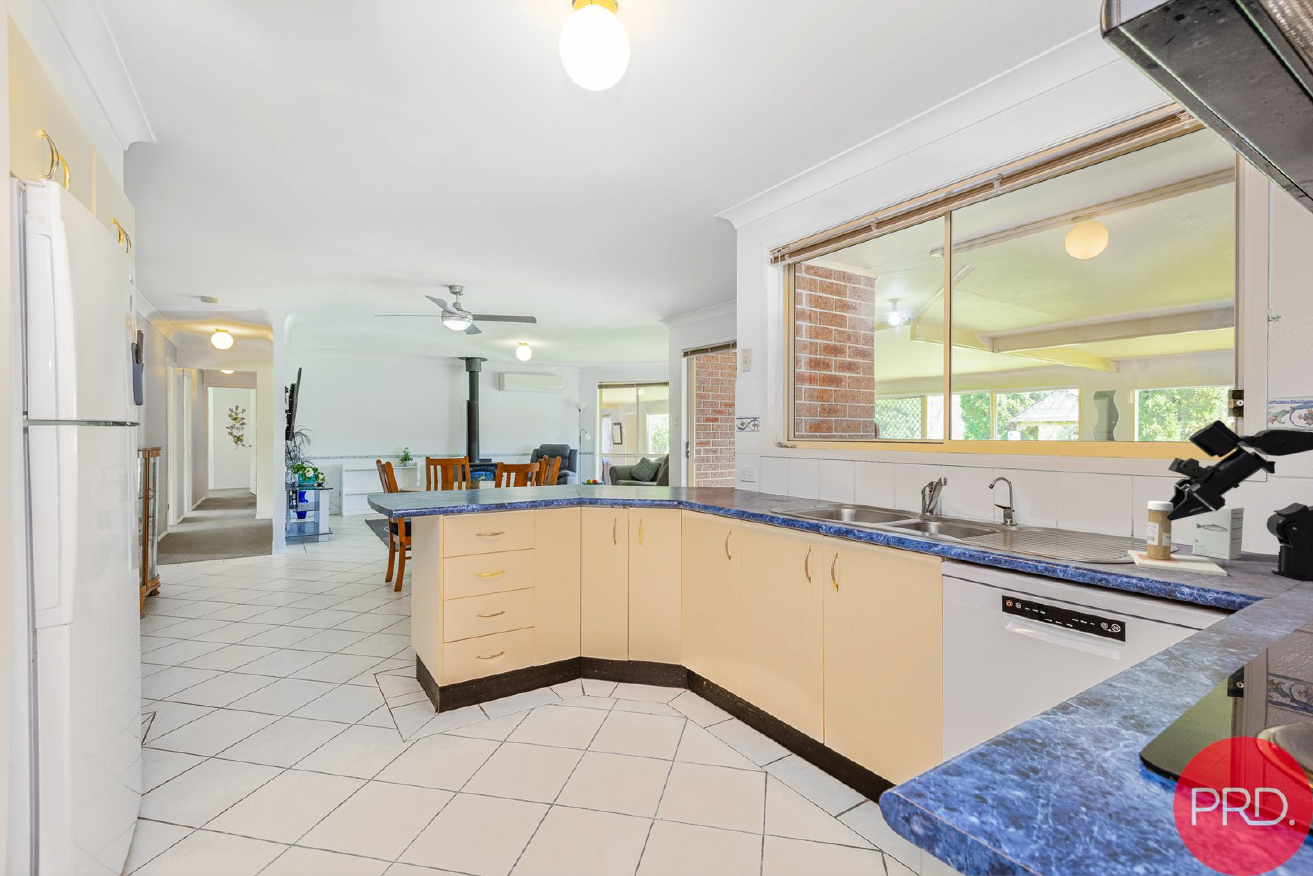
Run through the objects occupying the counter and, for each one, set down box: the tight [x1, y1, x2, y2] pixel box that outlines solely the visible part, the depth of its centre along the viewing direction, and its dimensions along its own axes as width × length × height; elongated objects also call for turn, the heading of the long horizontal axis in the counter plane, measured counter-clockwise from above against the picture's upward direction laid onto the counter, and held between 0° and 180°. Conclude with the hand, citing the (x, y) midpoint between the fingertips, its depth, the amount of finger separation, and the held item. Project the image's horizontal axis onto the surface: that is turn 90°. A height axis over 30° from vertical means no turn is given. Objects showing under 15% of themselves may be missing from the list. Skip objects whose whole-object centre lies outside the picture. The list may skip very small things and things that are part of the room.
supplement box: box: [1192, 505, 1245, 561], centre depth 150 cm, size 7×7×13 cm
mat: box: [1127, 549, 1228, 577], centre depth 141 cm, size 15×18×1 cm
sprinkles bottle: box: [1146, 500, 1173, 560], centre depth 142 cm, size 5×5×13 cm
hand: (1164, 516), depth 141 cm, fingers open, 9 cm apart
